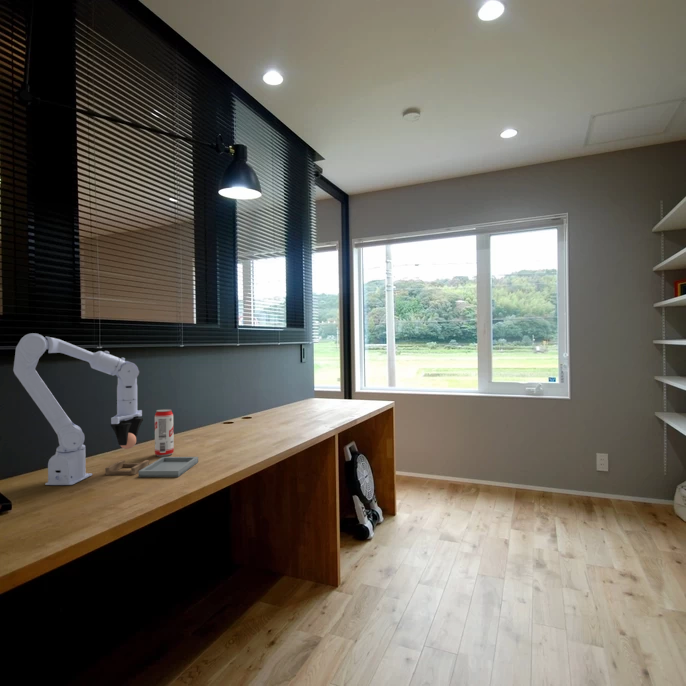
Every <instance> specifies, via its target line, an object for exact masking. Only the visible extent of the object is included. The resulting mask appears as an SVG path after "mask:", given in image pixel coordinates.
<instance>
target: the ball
mask: <svg viewBox="0 0 686 686" xmlns="http://www.w3.org/2000/svg"><path fill="white" fill-rule="evenodd" d="M136 443H137V438H136V436H135V435H134V434H132V433H128V440H127V445H119V446H120V447H121V448H122V449H125V450H129V449H132V448H133V447H134V446H135V445H136Z"/></svg>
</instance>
